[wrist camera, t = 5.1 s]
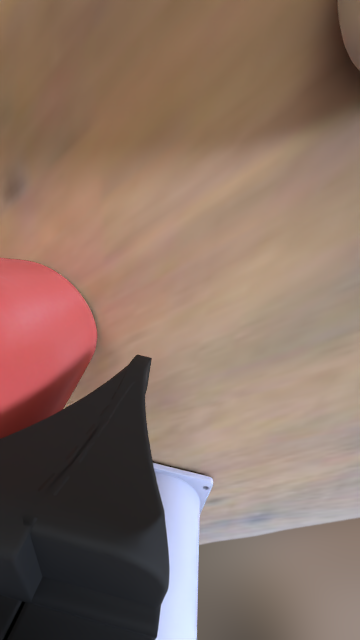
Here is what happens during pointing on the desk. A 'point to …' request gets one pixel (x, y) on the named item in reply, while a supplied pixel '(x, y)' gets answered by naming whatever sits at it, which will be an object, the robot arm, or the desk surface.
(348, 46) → the plastic bottle
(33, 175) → the desk surface
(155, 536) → the robot arm
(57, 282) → the flower pot
